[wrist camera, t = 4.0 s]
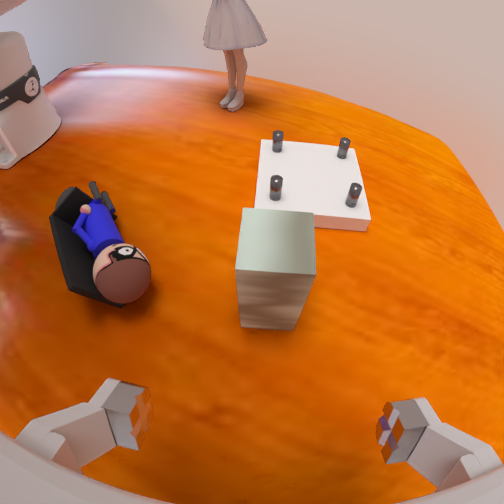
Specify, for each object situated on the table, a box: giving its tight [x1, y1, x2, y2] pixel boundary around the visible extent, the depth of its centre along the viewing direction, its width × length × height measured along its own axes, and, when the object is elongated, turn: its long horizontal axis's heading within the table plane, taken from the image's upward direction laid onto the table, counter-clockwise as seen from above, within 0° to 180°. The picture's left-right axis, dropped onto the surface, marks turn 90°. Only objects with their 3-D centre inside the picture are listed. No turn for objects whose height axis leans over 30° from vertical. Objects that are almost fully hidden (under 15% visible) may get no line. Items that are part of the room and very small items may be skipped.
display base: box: [254, 130, 371, 232], centre depth 32 cm, size 12×12×4 cm
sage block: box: [235, 208, 316, 331], centre depth 22 cm, size 4×4×10 cm
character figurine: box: [49, 181, 151, 308], centre depth 25 cm, size 8×7×15 cm
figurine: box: [203, 0, 267, 112], centre depth 32 cm, size 25×8×30 cm, turn 51°
